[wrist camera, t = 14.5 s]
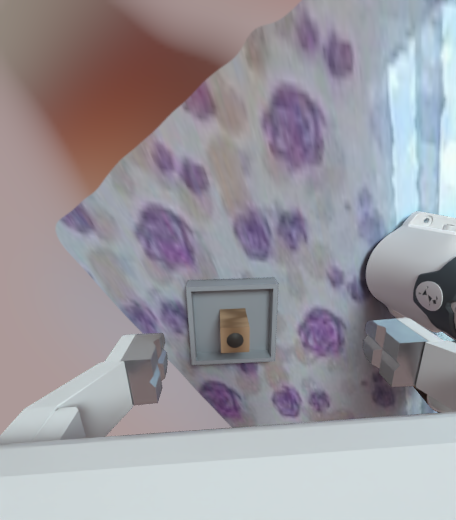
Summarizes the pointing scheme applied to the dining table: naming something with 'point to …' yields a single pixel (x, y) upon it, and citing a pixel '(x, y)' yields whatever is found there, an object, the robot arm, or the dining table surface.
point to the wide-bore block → (234, 330)
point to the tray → (232, 297)
